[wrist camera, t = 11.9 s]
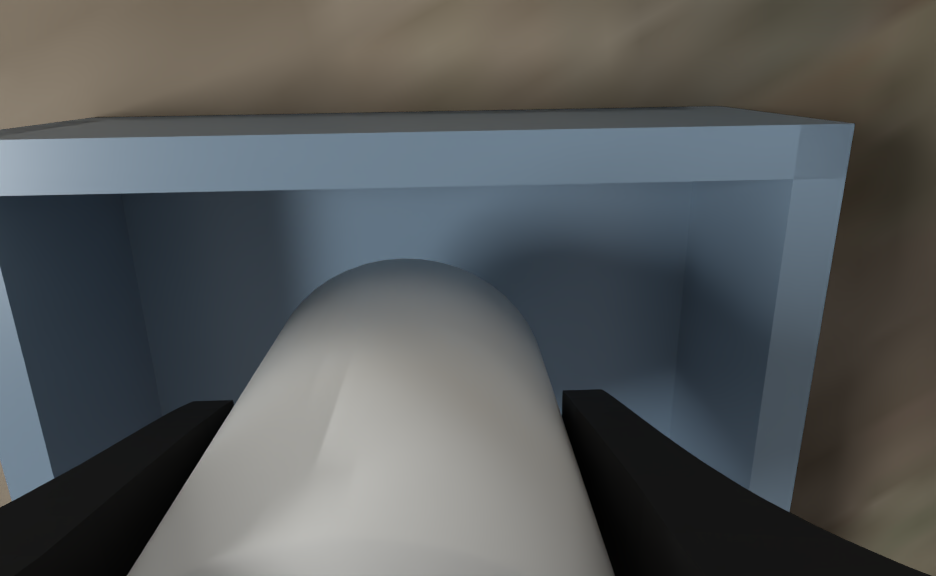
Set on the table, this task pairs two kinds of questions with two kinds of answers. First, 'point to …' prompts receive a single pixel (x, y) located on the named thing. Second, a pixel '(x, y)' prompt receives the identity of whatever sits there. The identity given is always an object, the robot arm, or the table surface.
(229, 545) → the white egg shape
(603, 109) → the tote
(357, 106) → the table surface
